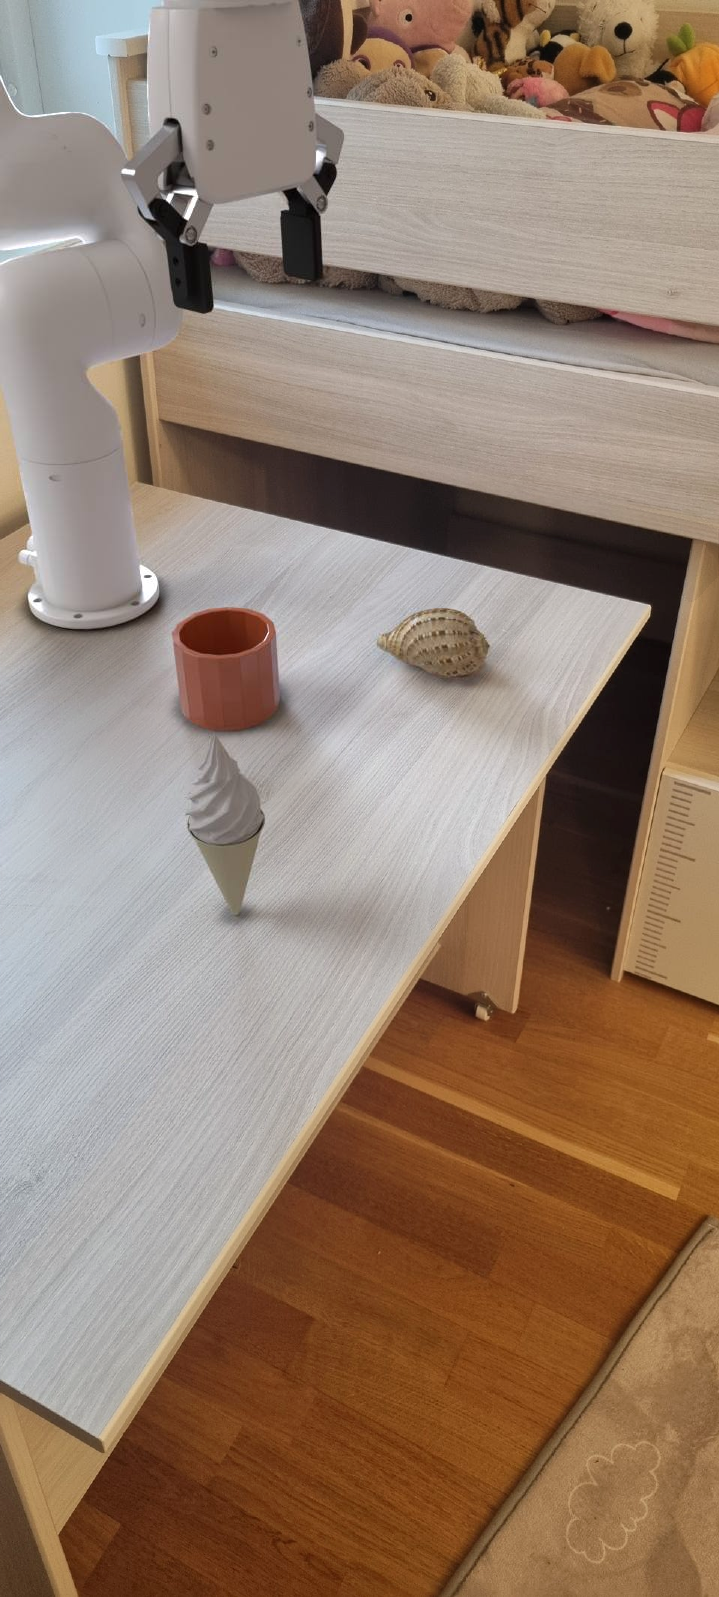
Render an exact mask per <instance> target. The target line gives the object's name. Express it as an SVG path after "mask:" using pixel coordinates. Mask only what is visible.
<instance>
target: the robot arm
mask: <svg viewBox="0 0 719 1597" xmlns="http://www.w3.org/2000/svg"><path fill="white" fill-rule="evenodd" d="M149 15H150V16H149V22H148V23H149V24H148V33H147V34H148V36H147V51H146V52H147V54H146V55H147V56H146V57H147V58H146V82H147V84H146V86H147V112H148V113H147V114H148V128H149V129H148V130H149V132H148V133H149V140H148V141H147V142H146V143H145V144H144V145H143V146H142V147H141V149H139V150H138V151H137V153H135V154H134V155H133V157H131V158H130V159H129V158H128V155H127V153H126V152H125V150H124V147H123V146H122V144H121V142H120V141H119V139H118V138H117V137H116V135H115V134H114V133H113V132H112V131H111V129H109V127H108V126H107V125H106V124H104V123H103V121H101V120H100V119H98V118H96V117H94V116H92V115H90V114H87V113H84V112H73V111H72V112H71V111H68V112H67V111H66V112H55V113H47V114H38V115H28V114H27V115H26V114H24V113H22V112H20V111H19V110H18V108H17V107H16V105H14V103H13V100H12V99H11V97H10V95H9V92H8V91H7V88H6V85H5V83H4V80H3V78H2V76H1V75H0V251H8V250H17V249H23V248H28V247H34V246H39V245H45V244H50V243H55V242H60V241H65V240H72V239H79V240H81V241H82V242H83V244H78V245H72V246H63V247H59V248H53V249H48V250H43V251H38V252H33V253H28V254H24V255H20V256H17V257H12V258H10V259H7V260H5V261H3V262H1V263H0V389H1V391H2V395H3V399H4V403H5V407H6V410H7V415H8V419H9V424H10V429H11V435H12V440H13V446H14V450H15V453H16V454H15V455H16V460H17V464H18V468H19V474H20V479H21V485H22V488H23V489H22V490H23V495H24V500H25V505H26V510H27V515H28V522H29V525H30V531H31V535H30V537H29V538H28V539H27V542H26V549H22V550H21V551H20V552H19V554H18V555H17V556H18V557H17V558H18V559H17V560H18V562H19V563H20V564H22V565H25V566H28V567H31V568H33V572H34V577H35V581H34V583H33V584H32V585H31V586H30V588H29V590H28V593H27V600H28V606H29V609H30V611H31V613H32V614H33V615H34V616H35V617H36V618H37V619H38V620H40V621H42V622H44V623H45V624H49V625H51V626H54V627H58V628H59V627H60V628H63V629H71V630H92V629H93V630H94V629H102V628H107V627H108V628H109V627H112V626H116V625H120V624H124V623H126V622H129V621H131V620H134V619H136V618H138V617H140V616H141V615H143V614H145V613H146V612H148V611H149V610H150V609H151V608H152V607H153V606H154V605H155V604H156V603H157V601H158V599H159V597H160V584H159V579H158V577H157V576H156V574H155V573H154V572H152V571H151V570H150V569H149V568H147V567H146V566H143V565H142V564H140V556H139V548H138V542H137V535H136V528H135V521H134V519H135V518H134V514H133V513H134V512H133V506H132V499H131V498H132V497H131V491H130V484H129V476H128V471H127V470H128V469H127V463H126V462H127V461H126V455H125V448H124V440H123V433H122V432H123V431H122V426H121V422H120V419H119V418H120V417H119V415H118V413H117V411H116V409H115V407H114V405H113V404H112V402H111V401H110V400H109V399H108V398H107V396H105V394H103V393H102V392H101V391H100V390H99V389H98V388H97V387H96V386H95V385H94V384H93V383H92V382H91V381H90V379H89V378H88V375H87V374H88V371H89V370H92V369H94V368H97V367H99V366H102V365H104V364H108V363H112V362H118V361H120V360H125V359H129V358H132V357H136V356H140V355H143V354H147V353H151V352H154V351H158V350H160V349H162V348H164V347H166V346H168V345H169V344H171V343H172V342H173V341H174V340H175V339H176V337H177V336H178V334H179V332H180V330H181V328H182V325H183V318H184V310H187V311H190V312H194V313H198V314H202V315H206V314H208V313H211V312H213V309H214V307H215V303H214V293H213V282H212V272H211V262H210V250H209V247H208V244H207V243H206V242H201V241H199V239H200V237H201V235H202V234H203V233H202V232H203V230H204V229H205V225H206V224H207V221H208V218H209V217H210V214H211V212H212V209H213V207H214V205H224V204H231V203H234V202H238V201H243V200H248V199H252V198H256V197H261V196H265V195H269V194H274V193H278V195H279V196H280V198H281V199H282V201H283V202H284V203H285V205H286V206H287V207H288V209H283V210H280V217H279V222H280V237H281V239H280V240H281V253H282V254H281V255H282V270H283V272H284V275H286V276H288V277H290V278H295V279H301V280H305V281H310V282H318V281H321V280H323V277H324V265H323V264H324V263H323V242H322V241H323V238H322V237H323V236H322V217H321V215H322V214H324V213H326V211H327V209H328V207H329V199H328V195H329V193H330V191H331V189H332V187H333V185H334V184H335V181H336V179H337V177H338V168H337V165H338V163H339V159H340V157H341V153H342V148H343V145H344V141H345V133H344V130H343V129H342V128H340V127H338V126H337V125H335V124H334V123H332V122H331V121H329V120H328V119H326V118H325V117H323V116H321V115H320V114H318V113H317V112H316V107H315V95H314V86H313V85H314V84H313V77H312V69H311V62H310V55H309V49H308V41H307V36H306V31H305V25H304V20H303V16H302V12H301V6H300V2H299V0H161V6H160V5H159V6H152V7H150V14H149ZM163 196H165V197H166V198H164V197H163ZM163 241H165V244H164V242H163Z"/></svg>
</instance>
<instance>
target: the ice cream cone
mask: <svg viewBox="0 0 719 1597" xmlns="http://www.w3.org/2000/svg"><path fill="white" fill-rule="evenodd" d="M196 770H197V771H198V772H201V774H200V776H199V777H198V779H195V780H193V781H191V785H193V786H194V787H195V790H194V791H193V792H186V793H185V794H184V798H185V799H187V800H191V802H192V805H191V807H190V808H186V809H185V810H184V816H188V817H187V821H186V829H187V832H188V834H189V835H190V836H191V838H193V840H194V841H195V844H196V846H197V847H198V849H199V851H200V853H201V856H202V857H203V860H204V862H205V863H206V865H207V867H208V869H209V871H210V873H211V875H212V877H213V879H214V881H215V883H216V886H217V887H218V889H219V891H220V893H221V894H222V897H223V899H224V901H225V903H226V904H227V907H228V908H229V910H230V912H231V915H233V916H239V915H240V913H241V908H242V906H243V905H242V904H243V901H244V898H245V893H246V889H247V887H248V882H249V879H250V874H251V871H252V867H253V863H254V861H255V860H254V859H255V857H256V852H257V849H258V845H259V840H260V837H261V834H262V833H261V832H262V831H263V829H264V827H265V824H266V814H265V813H264V811H263V810H262V808H261V798H260V795H259V792H258V790H257V787H256V786H257V785H255V784H254V783H253V782H252V781H250V780H249V779H248V778H247V777H246V776H245V775H243V774H242V773H241V769H240V768H239V766H238V762H237V761H236V760H235V759H234V758H233V757H231V755H230V754H229V753H228V751H227V749H226V748H225V747H224V745H223V743H222V741H220V738H219V737H218V735H217V734H216V732H214V733H213V734H212V737H211V740H210V742H209V746H208V749H207V752H206V754H205V756H204V760H203V761H202V762H201V763H200V765H199V766H197V768H196Z"/></svg>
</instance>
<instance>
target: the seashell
mask: <svg viewBox="0 0 719 1597" xmlns="http://www.w3.org/2000/svg"><path fill="white" fill-rule="evenodd" d="M475 622H476V621H475V620H474V619H472V618H471V617H470V616H468V615H467V614H466V613H464V612H462V611H460V610H457V609H453V608H447V607H438V608H437V607H436V608H429V609H425V610H421V611H418V612H415V613H413V614H411V615H409V616H408V617H406V618H404V620H402V621H401V622H400V623H399V624H398V625H397V626H396V627H395V628H394V629H392V630H391V631H388V632H386V633H382V634H381V633H379V635H378V637H377V639H376V646H377V647H378V648H379V649H380V650H382V651H383V652H386V653H388V654H390V655H391V656H393V657H394V658H395V659H396V660H399V661H401V662H402V663H404V664H408V665H411V666H414V667H418V668H420V669H423V670H424V671H425V672H427V673H430V674H432V675H434V676H436V677H437V678H438V677H439V678H443V679H444V678H446V679H449V678H454V679H455V678H458V679H459V678H466V677H471V676H473V675H475V674H477V673H478V672H479V671H480V669H481V668H482V667H484V665H485V664H486V660H487V658H488V653H489V649H490V647H491V645H490V644H489V641H488V640H487V637H485V634H484V633H482V632H481V631H480V630H478V628H477V626H476V623H475Z"/></svg>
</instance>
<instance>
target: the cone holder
mask: <svg viewBox="0 0 719 1597" xmlns="http://www.w3.org/2000/svg"><path fill="white" fill-rule="evenodd" d="M171 636H172V645H173V653H174V661H175V670H176V677H177V686H178V692H179V693H178V694H179V700H180V709H181V712H182V714H183V716H184V717H185V718H186V720H188V721H189V722H190V723H191V724H193V725H195V726H198V727H199V728H202V729H205V730H211V731H218V732H233V731H241V730H246V729H249V728H254V727H256V726H258V725H260V724H262V723H264V722H266V721H267V720H269V719H270V718H271V717H273V716H274V715H275V713H277V711H278V708H279V705H280V702H281V700H280V699H281V692H280V691H281V690H280V674H279V660H278V644H277V631H276V626H275V623H274V621H273V620H271V619H270V618H269V617H268V616H267V615H265V614H264V613H263V612H260V611H257V610H254V609H250V608H246V607H245V608H244V607H235V606H225V607H214V608H213V607H212V608H207V609H204V610H200V611H197V612H194V613H192V614H189V615H188V616H187V617H185V618H183V619H182V620H180V621H179V622H178V623H177V624H176V626H175V627H174V629H173V630H172V632H171Z"/></svg>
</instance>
